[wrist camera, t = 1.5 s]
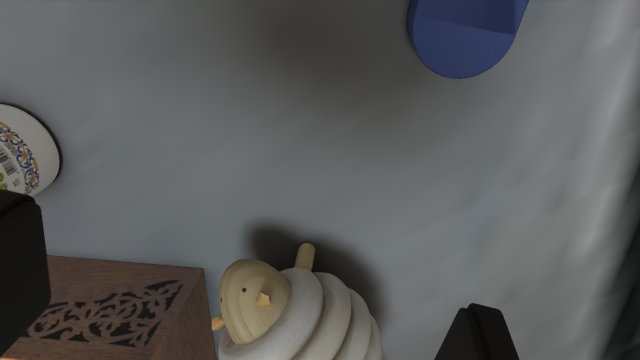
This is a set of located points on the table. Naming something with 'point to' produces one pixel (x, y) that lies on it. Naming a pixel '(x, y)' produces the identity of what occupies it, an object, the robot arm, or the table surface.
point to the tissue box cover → (119, 314)
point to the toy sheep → (292, 314)
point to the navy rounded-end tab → (463, 33)
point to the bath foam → (25, 153)
